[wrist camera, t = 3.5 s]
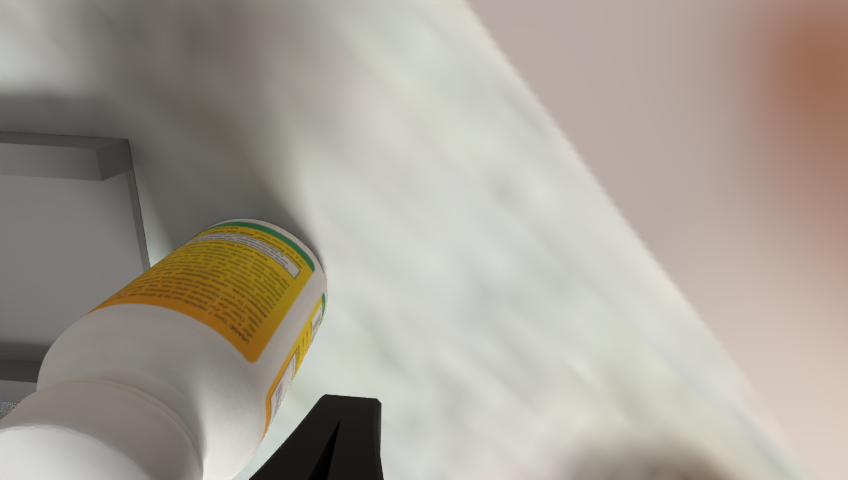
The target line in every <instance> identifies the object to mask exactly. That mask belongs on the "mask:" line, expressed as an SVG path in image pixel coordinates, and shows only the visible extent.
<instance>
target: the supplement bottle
mask: <svg viewBox="0 0 848 480" xmlns="http://www.w3.org/2000/svg"><path fill="white" fill-rule="evenodd" d="M327 298H328V293H327V284H326V279H325V276H324V273H323V270H322V268H321V266H320V264H319V262H318V260H317V259H316V257H315V256H314V254H313V253H312V251H311V250H310V249H309V248H308V247H306V246H305V245H304V244H303V243H302V242H301V241H300V240H299V239H297V238H296V237H295V236H293V235H292V234H291V233H289V232H287V231H286V230H284V229H282V228H280V227H278V226H276V225H274V224H271V223H269V222H265V221H261V220H255V219H232V220H227V221H223V222H219V223H216V224H214V225H212V226H210V227H208V228H207V229H205V230H203V231H202V232H201V233H199V234H198V235H196V236H195V237H193V238H192V239H191V240H189V241H188V242H186V243H185V244H183V245H181V246H180V247H179V248H177V249H176V250H175V251H173V252H172V253H171V254H169V255H168V256H167V257H165V258H164V259H162V260H161V261H159V262H158V263H157V264H155V265H154V266H153V267H151V268H150V269H148V270H147V271H146V272H144V273H143V274H141V275H140V276H139V277H137V278H136V279H134V280H133V281H132V282H130V283H129V284H128V285H126V286H125V287H123V288H122V289H121V290H119V291H118V292H116V293H115V294H114V295H112V296H111V297H110V298H108V299H107V300H105V301H104V302H103V303H101V304H100V305H98V306H97V307H95V308H94V309H93V310H91V311H90V312H88V313H87V314H86V315H84V316H83V317H81V318H80V319H79V320H77V321H76V322H75V323H73V324H72V325H71V326H70V327H69V328H67V329H66V330H65V331H64V332H63V333H62V334H61V335H60V336H59V337H58V338H57V340H56V341H55V342H54V343H53V345H52V346H51V347H50V349H49V351H48V352H47V354H46V356H45V358H44V360H43V363H42V365H41V368H40V372H39V376H38V381H37V391H36V392H34V393H32V394H30V395H29V396H27V397H26V398H24V399H23V400H22V401H21V402H20V403H19V404H18V405H17V406H16V407H15V408H14V409H13V410H12V411H11V412H10V413H8V414H7V415H6V416H5V417H4V418H3V419H1V420H0V480H232V479H233V478H234V477H235V476H236V475H238V474H239V473H240V472H241V471H242V470H243V469H244V467H245V466H246V465H247V464H248V463H249V461H250V460H251V459H252V457H253V456H254V454H255V453H256V451H257V449H258V447H259V445H260V444H261V442H262V440H263V438H264V436H265V434H266V432H267V430H268V428H269V426H270V424H271V422H272V420H273V418H274V416H275V414H276V412H277V410H278V408H279V406H280V404H281V402H282V400H283V398H284V396H285V394H286V392H287V390H288V388H289V386H290V384H291V382H292V380H293V378H294V377H295V375H296V373H297V371H298V369H299V367H300V365H301V363H302V361H303V359H304V356H305V355H306V353H307V351H308V349H309V347H310V345H311V343H312V341H313V339H314V337H315V334H316V332H317V330H318V328H319V326H320V324H321V322H322V320H323V317H324V314H325V311H326V306H327Z"/></svg>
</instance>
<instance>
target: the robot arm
mask: <svg viewBox="0 0 848 480" xmlns="http://www.w3.org/2000/svg"><path fill="white" fill-rule="evenodd" d="M380 442H381V402H380V401H379V400H378V399H375V398H363V397H351V396H339V395H327V394H325V395H323V396H322V397H321V398H320V399H319V400H318V402H317V403H316V404H315V406H314V407H313V408H312V409H311V411H310V412H309V413H308V414H307V416H306V417H305V418H304V419H303V421H302V422H301V423H300V424H299V425H298V427H297V428H296V429H295V430H294V431H293V433H292V434H291V435H290V436H289V437H288V438H287V439H286V441H285V442H284V443H283V444H282V445H281V446H280V447H279V448H278V449H277V451H276V452H275V453H274V454H273V455H272V456H271V457H270V458H269V459H268V460H267V462H266V463H265V464H264V465H263V466H262V467H261V468H260V469H259V470H258V471H257V472H256V473H255V474H254V475H253V476H252V477H251V478H250V479H249V480H384V478H383V472H382V465H381V458H380Z"/></svg>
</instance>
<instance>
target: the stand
mask: <svg viewBox="0 0 848 480" xmlns="http://www.w3.org/2000/svg"><path fill="white" fill-rule="evenodd" d="M148 269H150V265H149V259H148V253H147V248H146V242H145V236H144V230H143V224H142V218H141V213H140V207H139V201H138V195H137V189H136V183H135V178H134V172H133V166H132V160H131V154H130V148H129V143H128V139H112V138H96V137H80V136H64V135H48V134H31V133H15V132H0V401H6V402H18V403H20V402H21V401H22V400H23V399H24V398H26V397H27V396H29V395H30V394H32V393H34V392H36V391H37V381H38V376H39V372H40V368H41V365H42V363H43V360H44V358H45V356H46V354H47V352H48V351H49V349H50V347H51V346H52V345H53V343H54V342H55V341H56V340H57V338H58V337H59V336H60V335H61V334H62V333H63V332H64V331H65V330H66V329H67V328H69V327H70V326H71V325H72V324H73V323H75V322H76V321H77V320H79V319H80V318H81V317H83V316H84V315H86V314H87V313H88V312H90V311H91V310H93V309H94V308H95V307H97V306H98V305H100V304H101V303H103V302H104V301H105V300H107V299H108V298H110V297H111V296H112V295H114V294H115V293H116V292H118V291H119V290H121V289H122V288H123V287H125V286H126V285H128V284H129V283H130V282H132V281H133V280H134V279H136V278H137V277H139V276H140V275H141V274H143V273H144V272H146V271H147V270H148Z"/></svg>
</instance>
